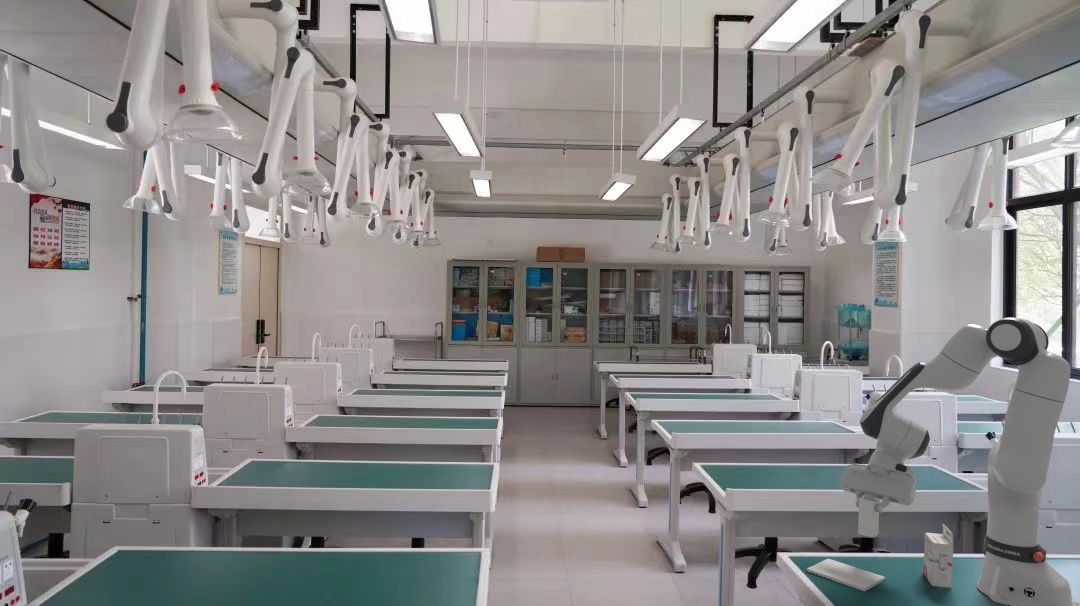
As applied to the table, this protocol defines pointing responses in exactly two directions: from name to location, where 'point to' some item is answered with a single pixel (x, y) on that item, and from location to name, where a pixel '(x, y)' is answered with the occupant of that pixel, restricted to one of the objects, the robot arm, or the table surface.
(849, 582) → the white spiral notebook
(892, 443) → the robot arm
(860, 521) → the white tall rectangular block
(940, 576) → the ink cartridge box
